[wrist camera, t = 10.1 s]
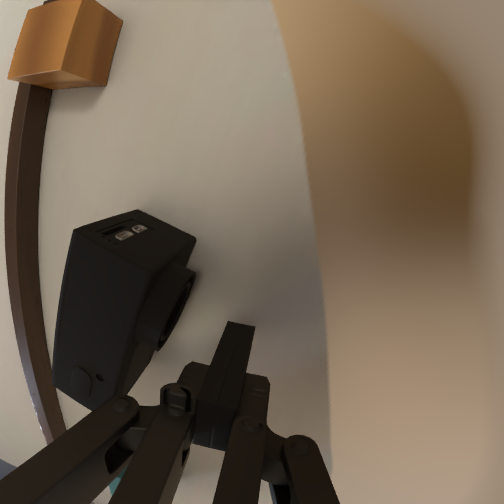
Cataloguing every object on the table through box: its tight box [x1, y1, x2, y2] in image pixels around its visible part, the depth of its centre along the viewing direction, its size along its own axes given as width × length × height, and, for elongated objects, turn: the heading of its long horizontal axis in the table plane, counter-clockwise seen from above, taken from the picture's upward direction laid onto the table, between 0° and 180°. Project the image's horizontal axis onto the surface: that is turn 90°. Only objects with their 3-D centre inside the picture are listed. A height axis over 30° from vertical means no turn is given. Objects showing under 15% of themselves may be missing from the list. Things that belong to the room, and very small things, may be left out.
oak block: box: [7, 0, 123, 90], centre depth 15 cm, size 5×5×5 cm
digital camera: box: [52, 209, 196, 411], centre depth 17 cm, size 10×5×7 cm, turn 155°
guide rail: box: [5, 0, 66, 445], centre depth 20 cm, size 2×42×2 cm, turn 170°
